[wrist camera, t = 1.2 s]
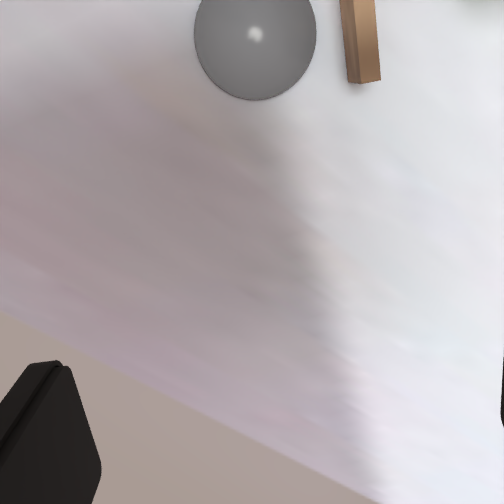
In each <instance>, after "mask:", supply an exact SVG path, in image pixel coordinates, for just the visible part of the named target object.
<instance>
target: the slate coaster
mask: <svg viewBox="0 0 504 504" xmlns="http://www.w3.org/2000/svg"><path fill="white" fill-rule="evenodd" d="M194 39H195V46H196V51H197V54H198V57H199V60H200V62H201V65H202V66H203V68H204V70H205V72H206V73H207V74H208V76H209V77H210V78H211V79H212V80H213V82H214V83H215V84H216V85H218V86H219V87H220V88H221V89H223V90H224V91H226V92H228V93H230V94H232V95H234V96H236V97H240V98H243V99H250V100H260V99H267V98H271V97H274V96H276V95H279V94H281V93H283V92H284V91H286V90H288V89H289V88H290V87H292V86H293V85H294V84H295V83H296V82H297V81H298V80H299V79H300V78H301V76H302V75H303V74H304V72H305V71H306V69H307V67H308V66H309V63H310V61H311V59H312V56H313V53H314V49H315V43H316V22H315V17H314V13H313V10H312V7H311V4H310V2H309V0H202V1H201V3H200V6H199V9H198V11H197V15H196V20H195V28H194Z"/></svg>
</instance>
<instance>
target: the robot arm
mask: <svg viewBox="0 0 504 504" xmlns="http://www.w3.org/2000/svg"><path fill="white" fill-rule="evenodd" d="M501 420H502V424H503V426H504V359H503V377H502V395H501ZM100 477H101V461H100V458H99V455H98V451H97V449H96V445H95V442H94V439H93V436H92V433H91V430H90V427H89V424H88V421H87V418H86V415H85V411H84V408H83V405H82V402H81V399H80V396H79V393H78V390H77V387H76V384H75V380H74V378H73V374H72V371H71V369H70V368H69V367H68V366H63V365H62V364H61V362H60V361H57V360H55V361H48V362H40V363H32V364H30V365H28V366H27V368H26V369H25V370H24V372H23V373H22V374H21V376H20V377H19V378H18V380H17V381H16V383H15V384H14V385H13V387H12V388H11V389H10V391H9V392H8V393H7V395H6V396H5V397H4V399H3V400H2V401H1V403H0V504H92V501H93V498H94V495H95V493H96V490H97V487H98V484H99V481H100Z"/></svg>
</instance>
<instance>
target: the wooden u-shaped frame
mask: <svg viewBox="0 0 504 504" xmlns="http://www.w3.org/2000/svg"><path fill="white" fill-rule="evenodd" d="M340 9H341V19H342V28H343V38H344V47H345V56H346V66H347V75H348V82H351V83H358V84H363V83H369V82H374V81H379V80H381V75H380V63H379V51H378V39H377V27H376V15H375V2H374V0H340Z"/></svg>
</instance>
